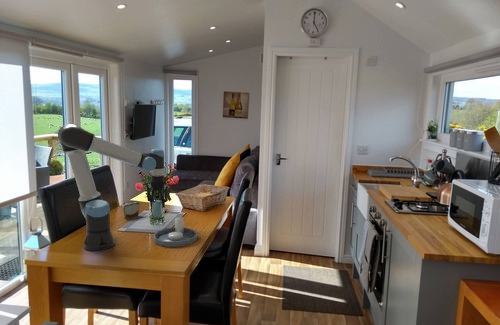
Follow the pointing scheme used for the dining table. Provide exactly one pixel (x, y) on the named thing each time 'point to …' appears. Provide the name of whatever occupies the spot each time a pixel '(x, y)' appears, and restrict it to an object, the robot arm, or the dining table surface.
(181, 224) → the cream bead
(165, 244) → the groove tray
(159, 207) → the teal green block
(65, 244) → the dining table surface
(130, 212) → the food container
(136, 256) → the dining table surface
